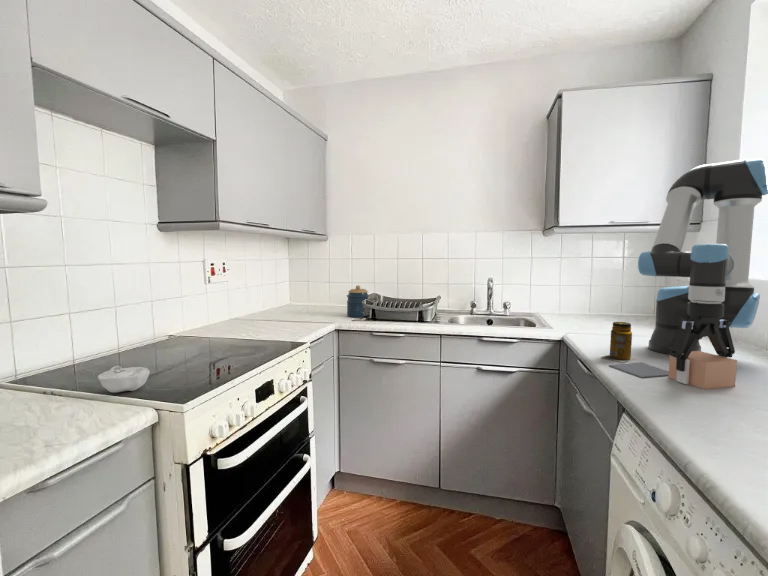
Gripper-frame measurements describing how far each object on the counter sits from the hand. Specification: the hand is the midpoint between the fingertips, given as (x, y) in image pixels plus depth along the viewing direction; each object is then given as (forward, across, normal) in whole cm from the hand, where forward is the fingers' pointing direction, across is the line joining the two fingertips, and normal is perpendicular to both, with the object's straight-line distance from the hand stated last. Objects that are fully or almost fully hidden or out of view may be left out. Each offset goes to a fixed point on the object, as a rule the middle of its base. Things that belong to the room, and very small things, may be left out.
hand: (700, 381), depth 106 cm
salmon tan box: (0, 0, 0) cm, 0 cm away
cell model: (+1, -152, +28) cm, 154 cm away
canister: (0, -75, +135) cm, 154 cm away
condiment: (0, -3, +25) cm, 25 cm away
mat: (0, -7, +12) cm, 14 cm away
